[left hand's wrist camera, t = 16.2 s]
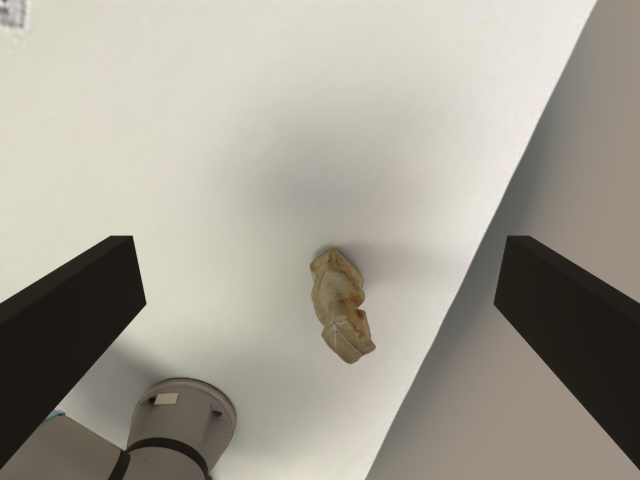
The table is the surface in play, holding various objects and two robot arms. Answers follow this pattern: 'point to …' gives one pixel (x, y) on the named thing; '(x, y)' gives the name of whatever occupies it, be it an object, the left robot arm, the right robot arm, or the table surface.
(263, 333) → the table surface
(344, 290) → the sculpture
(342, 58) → the table surface
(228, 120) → the table surface
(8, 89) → the table surface
